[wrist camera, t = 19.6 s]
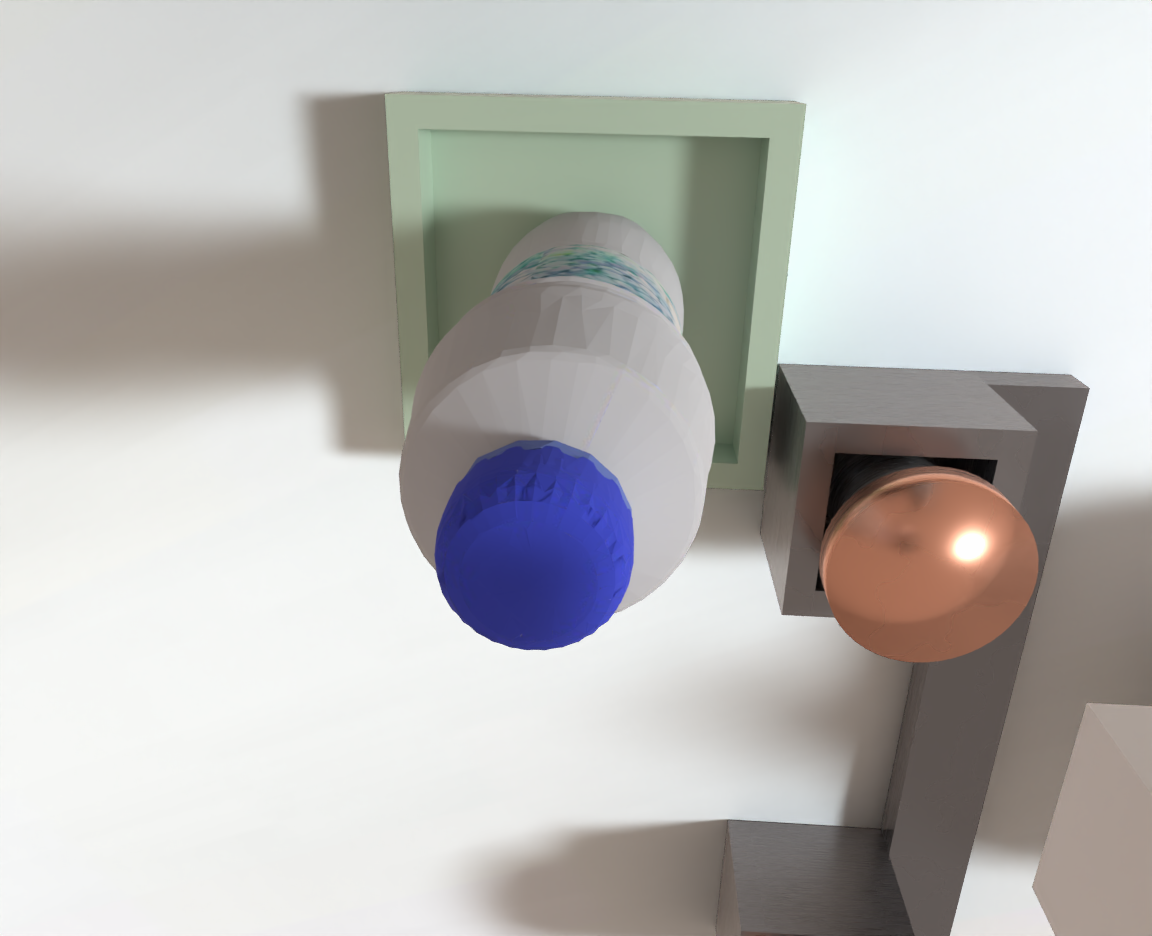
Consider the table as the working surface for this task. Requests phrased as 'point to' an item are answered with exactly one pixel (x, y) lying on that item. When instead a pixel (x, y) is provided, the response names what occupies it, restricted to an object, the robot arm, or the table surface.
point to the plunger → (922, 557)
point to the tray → (614, 186)
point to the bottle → (561, 437)
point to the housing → (937, 689)
